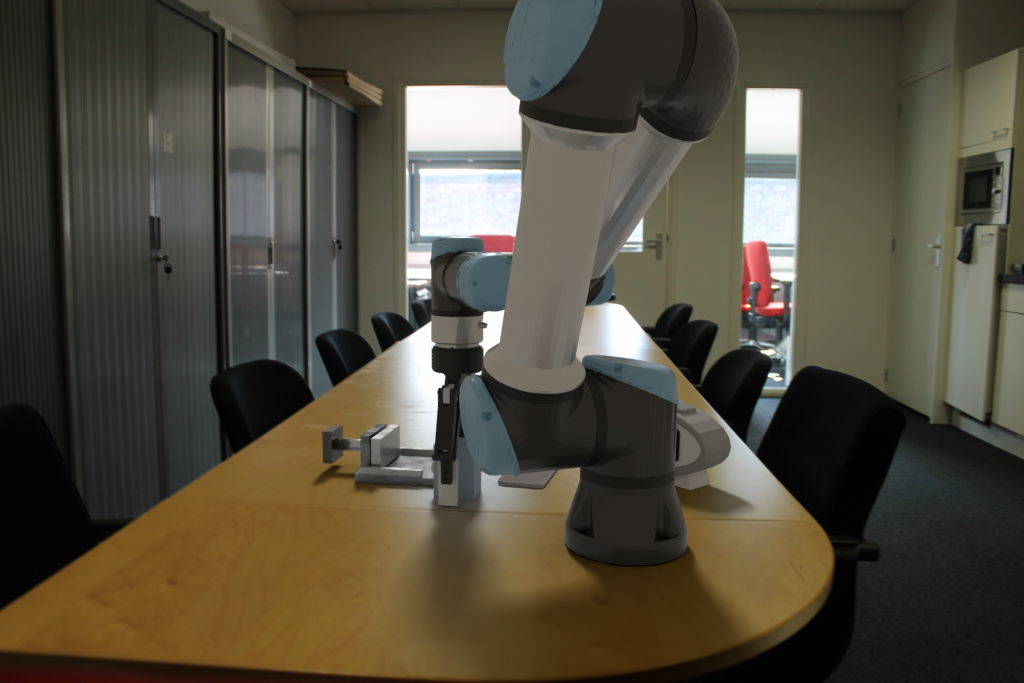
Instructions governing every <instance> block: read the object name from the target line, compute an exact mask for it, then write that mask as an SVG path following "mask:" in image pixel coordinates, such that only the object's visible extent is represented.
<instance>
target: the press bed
mask: <svg viewBox="0 0 1024 683" xmlns="http://www.w3.org/2000/svg"><path fill="white" fill-rule="evenodd" d="M387 425H388V424H387V423H377V424H375V425H374V426H372V427H370V429H368V430H366V431H365V432H363V433H362V434H360V436H359V439H360V465H359V466H358V468H357V470H358V471H357V472H355V473H354V482H355V483H369V484H370V483H371V484H385V485H386V484H389V485H403V486H405V485H407V486H419V487H420V486H421V487H434V482H433V472H432V471H431V465H432V462H433V460H432V455H433V448H432V447H411V446H400V454H399V455H398V456H397V457H396V458H395V459H394V460H392V461H391V462H390V463H389V464H388V465H387V466H385V467H374V466H371V438H373V437H374V436H375V435H377V434H378V433H380V432H381V431H382V430H384V429H385V428H387V427H388V426H387Z"/></svg>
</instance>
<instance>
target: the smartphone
mask: <svg viewBox="0 0 1024 683" xmlns="http://www.w3.org/2000/svg"><path fill="white" fill-rule="evenodd" d="M557 471H558V470H553V471H544V472H534V473H525V474H520V475H519V476H514V475H500V476H499V477H498V479H497V484H498V485H500V486H505V487H519V488H528V489H542V488H545V487H546V485H547V484H548V483H549V481H550V480H551V479H552V477H553V476H554V475H555V473H557Z"/></svg>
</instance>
